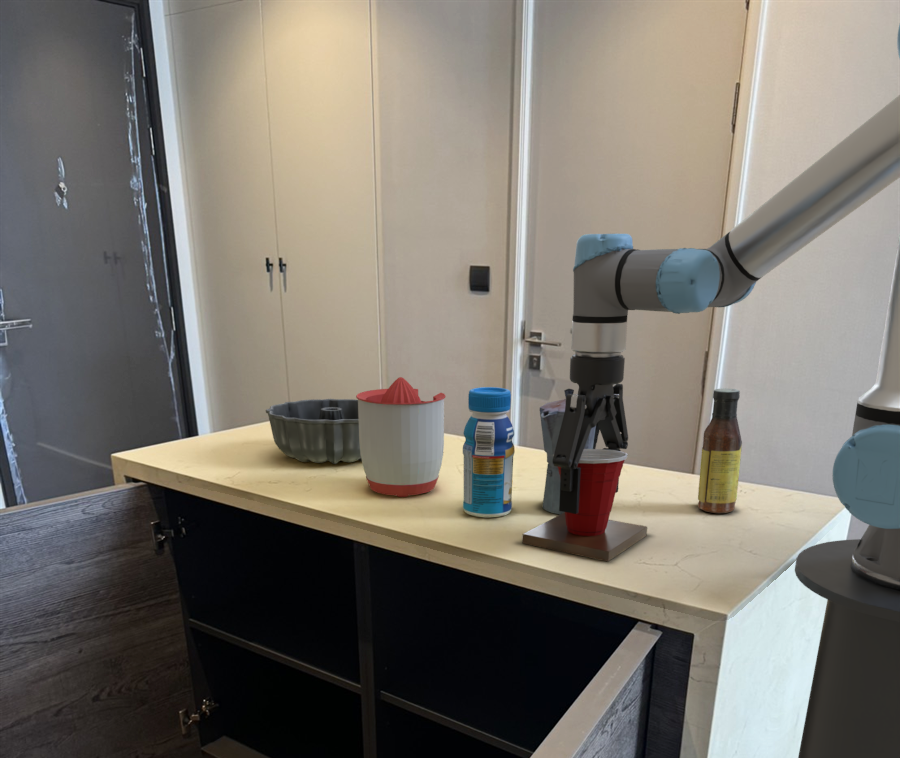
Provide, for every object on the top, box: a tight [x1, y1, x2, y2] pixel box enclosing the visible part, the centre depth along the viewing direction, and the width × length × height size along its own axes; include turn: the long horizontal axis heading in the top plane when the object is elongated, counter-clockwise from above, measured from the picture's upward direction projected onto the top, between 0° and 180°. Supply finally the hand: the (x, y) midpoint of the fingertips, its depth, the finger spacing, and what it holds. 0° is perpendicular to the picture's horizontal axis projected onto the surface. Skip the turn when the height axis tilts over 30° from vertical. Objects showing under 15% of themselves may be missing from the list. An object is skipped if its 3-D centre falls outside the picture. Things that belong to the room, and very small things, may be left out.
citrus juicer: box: [355, 376, 446, 498], centre depth 154 cm, size 16×17×20 cm
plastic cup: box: [553, 448, 629, 536], centre depth 128 cm, size 11×11×12 cm
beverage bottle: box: [462, 386, 515, 519], centre depth 140 cm, size 8×8×20 cm
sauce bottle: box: [697, 388, 743, 514], centre depth 142 cm, size 7×6×20 cm
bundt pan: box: [265, 398, 362, 465], centre depth 179 cm, size 26×26×10 cm
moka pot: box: [539, 388, 600, 515], centre depth 143 cm, size 10×15×20 cm, turn 137°
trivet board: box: [521, 512, 648, 562], centre depth 131 cm, size 14×14×2 cm
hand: (589, 501), depth 128 cm, fingers open, 13 cm apart
